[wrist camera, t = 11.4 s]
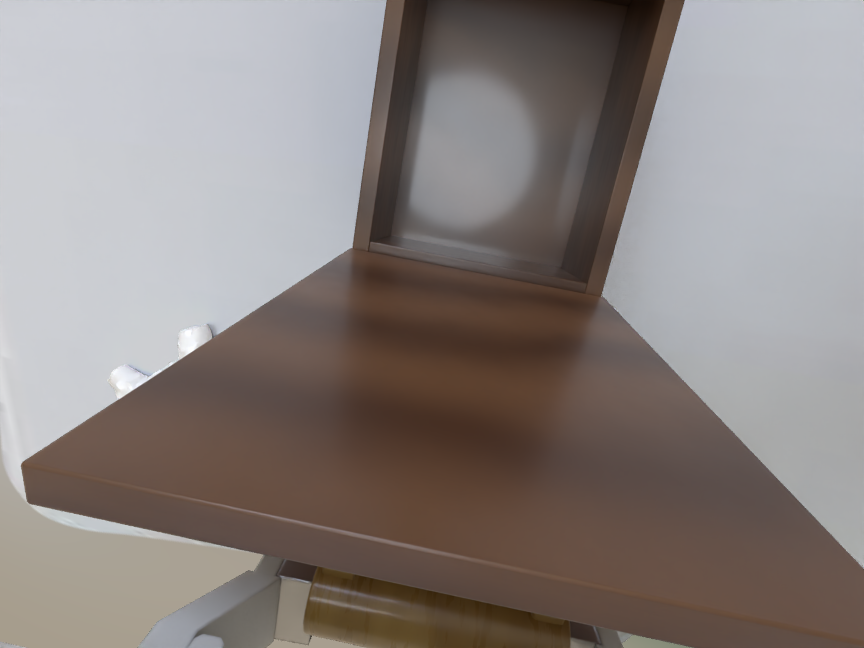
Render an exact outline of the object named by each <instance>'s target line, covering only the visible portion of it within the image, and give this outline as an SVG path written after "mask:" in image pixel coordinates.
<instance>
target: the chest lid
mask: <svg viewBox="0 0 864 648" xmlns="http://www.w3.org/2000/svg"><path fill="white" fill-rule="evenodd" d="M21 469H22V475H23V481H24V486H25V492H26V498H27V502H28V503H29V504H32V505H37V506H42V507H46V508H51V509H55V510H60V511H65V512H69V513H74V514H79V515H83V516H88V517H92V518H97V519H102V520H106V521H111V522H115V523H120V524H125V525H129V526H134V527H139V528H143V529H148V530H152V531H157V532H162V533H166V534H171V535H176V536H180V537H185V538H189V539H194V540H199V541H203V542H208V543H213V544H217V545H222V546H226V547H231V548H236V549H240V550H245V551H249V552H254V553H259V554H263V555H268V556H273V557H277V558H282V559H286V560H291V561H296V562H300V563H305V564H310V565H314V566H317V568H316V571H315V574H314V577H313V580H312V584H311V587H310V591H309V595H308V599H307V603H306V608H305V613H304V619H303V632H304V633H305V634H307V635H312V636H316V637H321V638H326V639H330V640H335V641H339V642H344V643H348V644H353V645H357V646H362V647H366V648H570V647H571V631H570V621H573V622H578V623H582V624H587V625H591V626H596V627H601V628H605V629H610V630H615V631H619V632H624V633H628V634H633V635H638V636H642V637H647V638H651V639H656V640H661V641H665V642H670V643H675V644H680V645H684V646H688V647H694V648H864V569H863V568H862V567H861V566H860V564H859V563H858V562H857V561H856V560H855V559H854V558H853V557H852V556H851V555H850V554H849V553H848V552H847V551H846V550H845V549H844V548H843V547H842V546H841V545H840V544H839V543H838V542H837V540H836V539H835V538H834V537H833V536H832V535H831V534H830V533H829V532H828V531H827V530H826V529H825V528H824V527H823V526H822V525H821V524H820V523H819V522H818V521H817V520H816V519H815V518H814V516H813V515H812V514H811V513H810V512H809V511H808V510H807V509H806V508H805V507H804V506H803V505H802V504H801V503H800V502H799V501H798V500H797V499H796V498H795V497H794V496H793V495H792V494H791V492H790V491H789V490H788V489H787V488H786V487H785V486H784V485H783V484H782V483H781V482H780V481H779V480H778V479H777V478H776V477H775V476H774V475H773V474H772V473H771V472H770V471H769V470H768V468H767V467H766V466H765V465H764V464H763V463H762V462H761V461H760V460H759V459H758V458H757V457H756V456H755V455H754V454H753V453H752V452H751V451H750V450H749V449H748V448H747V447H746V446H745V444H744V443H743V442H742V441H741V440H740V439H739V438H738V437H737V436H736V435H735V434H734V433H733V432H732V431H731V430H730V429H729V428H728V427H727V426H726V425H725V424H724V423H723V422H722V420H721V419H720V418H719V417H718V416H717V415H716V414H715V413H714V412H713V411H712V410H711V409H710V408H709V407H708V406H707V405H706V404H705V403H704V402H703V401H702V400H701V399H700V398H699V396H698V395H697V394H696V393H695V392H694V391H693V390H692V389H691V388H690V387H689V386H688V385H687V384H686V383H685V382H684V381H683V380H682V379H681V378H680V377H679V376H678V375H677V374H676V372H675V371H674V370H673V369H672V368H671V367H670V366H669V365H668V364H667V363H666V362H665V361H664V360H663V359H662V358H661V357H660V356H659V355H658V354H657V353H656V352H655V351H654V350H653V348H652V347H651V346H650V345H649V344H648V343H647V342H646V341H645V340H644V339H643V338H642V337H641V336H640V335H639V334H638V333H637V332H636V331H635V330H634V329H633V328H632V327H631V326H630V324H629V323H628V322H627V321H626V320H625V319H624V318H623V317H622V316H621V315H620V314H619V313H618V312H617V311H616V310H615V309H614V308H613V307H612V306H611V305H610V304H609V303H608V302H607V300H606V299H605V298H603V297H599V296H594V295H589V294H583V293H578V292H573V291H568V290H563V289H558V288H553V287H547V286H542V285H537V284H532V283H527V282H522V281H516V280H511V279H506V278H501V277H496V276H491V275H486V274H480V273H475V272H470V271H465V270H460V269H455V268H449V267H444V266H439V265H434V264H429V263H424V262H419V261H413V260H408V259H403V258H398V257H393V256H388V255H383V254H377V253H372V252H367V251H362V250H357V249H352V248H350V249H349V250H347V251H346V252H344V253H343V254H341V255H339V256H338V257H336V258H335V259H333V260H332V261H330V262H329V263H327V264H326V265H324V266H323V267H321V268H320V269H318V270H316V271H315V272H313V273H312V274H310V275H309V276H307V277H306V278H304V279H303V280H301V281H300V282H298V283H297V284H295V285H293V286H292V287H290V288H289V289H287V290H286V291H284V292H283V293H281V294H280V295H278V296H277V297H275V298H273V299H272V300H270V301H269V302H267V303H266V304H264V305H263V306H261V307H260V308H258V309H257V310H255V311H254V312H252V313H250V314H249V315H247V316H246V317H244V318H243V319H241V320H240V321H238V322H237V323H235V324H234V325H232V326H231V327H229V328H227V329H226V330H224V331H223V332H221V333H220V334H218V335H217V336H215V337H214V338H212V339H211V340H209V341H208V342H206V343H204V344H203V345H201V346H200V347H198V348H197V349H195V350H194V351H192V352H191V353H189V354H188V355H186V356H185V357H183V358H181V359H180V360H178V361H177V362H175V363H174V364H172V365H171V366H169V367H168V368H166V369H165V370H163V371H162V372H160V373H158V374H157V375H155V376H154V377H152V378H151V379H149V380H148V381H146V382H145V383H143V384H142V385H140V386H139V387H137V388H135V389H134V390H132V391H131V392H129V393H128V394H126V395H125V396H123V397H122V398H120V399H119V400H117V401H116V402H114V403H112V404H111V405H109V406H108V407H106V408H105V409H103V410H102V411H100V412H99V413H97V414H96V415H94V416H92V417H91V418H89V419H88V420H86V421H85V422H83V423H82V424H80V425H79V426H77V427H76V428H74V429H73V430H71V431H69V432H68V433H66V434H65V435H63V436H62V437H60V438H59V439H57V440H56V441H54V442H53V443H51V444H50V445H48V446H46V447H45V448H43V449H42V450H40V451H39V452H37V453H36V454H34V455H33V456H31V457H30V458H28V459H27V460H25V461H23V463H22V464H21Z"/></svg>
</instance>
